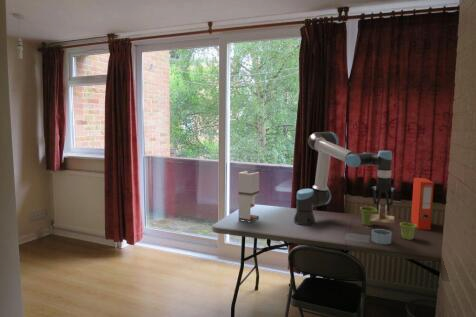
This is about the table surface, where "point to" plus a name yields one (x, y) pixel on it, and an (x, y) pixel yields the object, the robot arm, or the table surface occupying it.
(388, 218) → the oak board
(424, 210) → the file binder
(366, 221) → the plant pot
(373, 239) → the slate-blue bowl
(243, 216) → the white coffee grinder
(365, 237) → the charcoal mat
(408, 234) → the plant pot
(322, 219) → the table surface
